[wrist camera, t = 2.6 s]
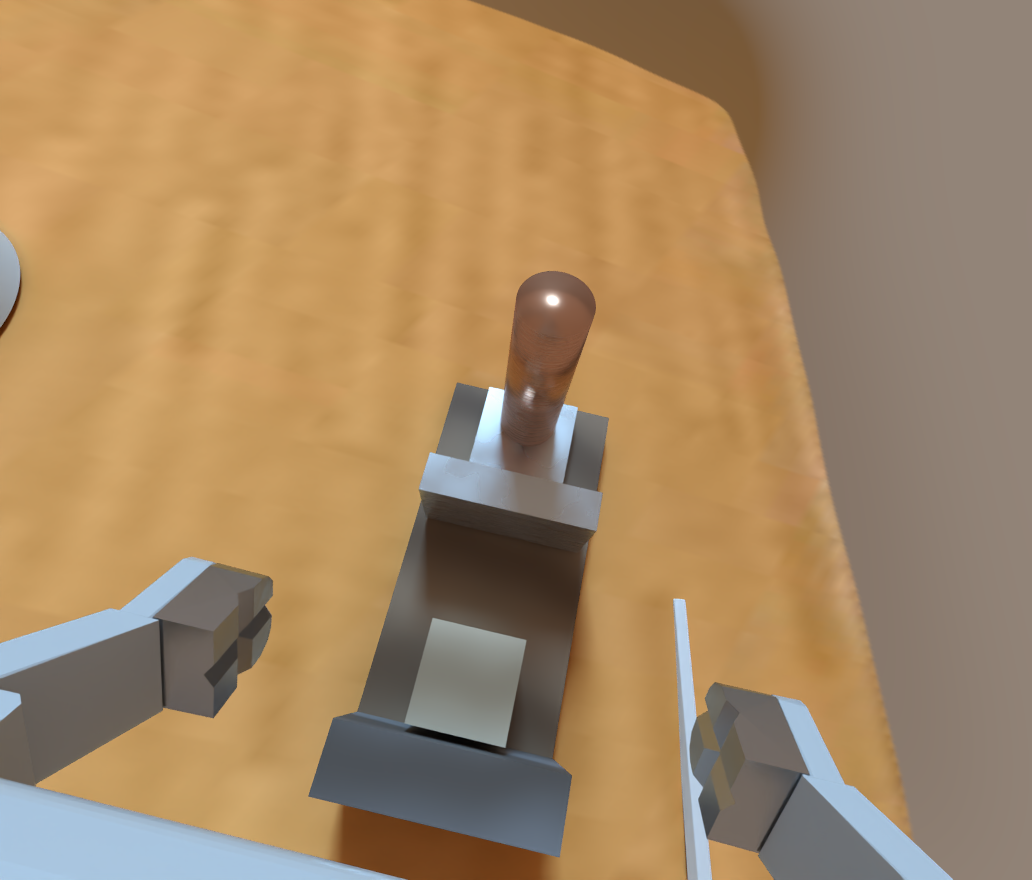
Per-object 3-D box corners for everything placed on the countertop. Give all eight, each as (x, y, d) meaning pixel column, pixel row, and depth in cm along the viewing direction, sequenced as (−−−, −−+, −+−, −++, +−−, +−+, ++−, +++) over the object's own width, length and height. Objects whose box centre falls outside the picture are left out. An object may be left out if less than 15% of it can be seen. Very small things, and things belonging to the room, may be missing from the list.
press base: (537, 816, 25) (559, 857, 19) (345, 769, 25) (308, 796, 19) (602, 429, 33) (632, 373, 27) (457, 394, 33) (455, 332, 28)
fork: (702, 600, 31) (716, 594, 29) (752, 1117, 22) (776, 1152, 20) (644, 597, 30) (655, 590, 29) (671, 1116, 22) (689, 1152, 20)
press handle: (577, 552, 28) (640, 479, 18) (425, 516, 28) (403, 424, 18) (600, 421, 32) (664, 295, 21) (463, 389, 32) (462, 249, 21)
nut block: (499, 738, 25) (505, 747, 21) (413, 717, 25) (404, 723, 21) (518, 646, 27) (526, 640, 23) (437, 626, 27) (432, 617, 23)
